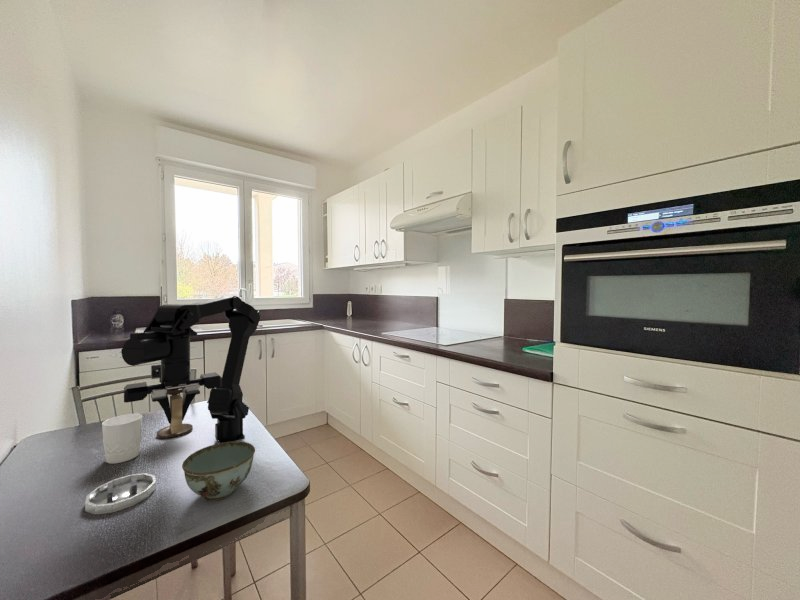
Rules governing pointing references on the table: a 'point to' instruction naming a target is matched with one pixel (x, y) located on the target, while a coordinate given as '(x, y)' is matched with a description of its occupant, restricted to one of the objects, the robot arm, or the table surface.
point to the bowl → (218, 469)
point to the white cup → (122, 437)
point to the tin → (120, 493)
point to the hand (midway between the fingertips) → (175, 421)
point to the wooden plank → (176, 413)
